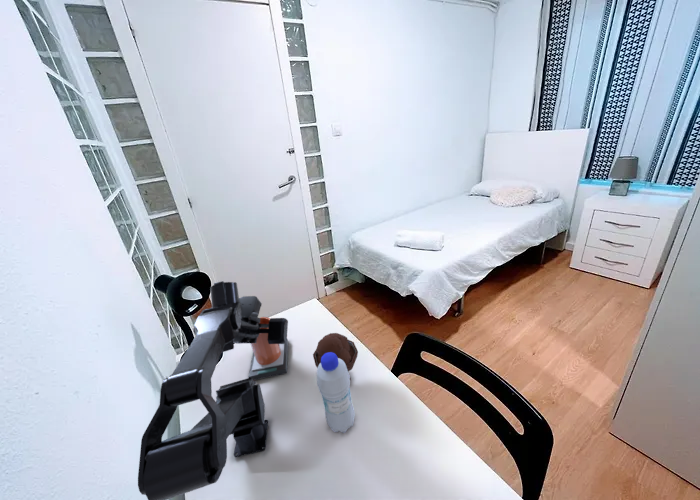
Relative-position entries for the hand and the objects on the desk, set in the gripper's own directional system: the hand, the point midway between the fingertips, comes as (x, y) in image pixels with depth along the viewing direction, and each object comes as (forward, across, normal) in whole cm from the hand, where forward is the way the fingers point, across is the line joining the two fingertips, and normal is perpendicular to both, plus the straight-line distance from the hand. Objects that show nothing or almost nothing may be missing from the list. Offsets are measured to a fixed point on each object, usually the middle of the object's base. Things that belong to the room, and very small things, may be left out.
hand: (264, 333), depth 78 cm
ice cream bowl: (+1, -22, +12) cm, 25 cm away
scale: (+5, 0, +7) cm, 9 cm away
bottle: (-7, -23, +20) cm, 31 cm away
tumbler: (+4, 0, +6) cm, 7 cm away
